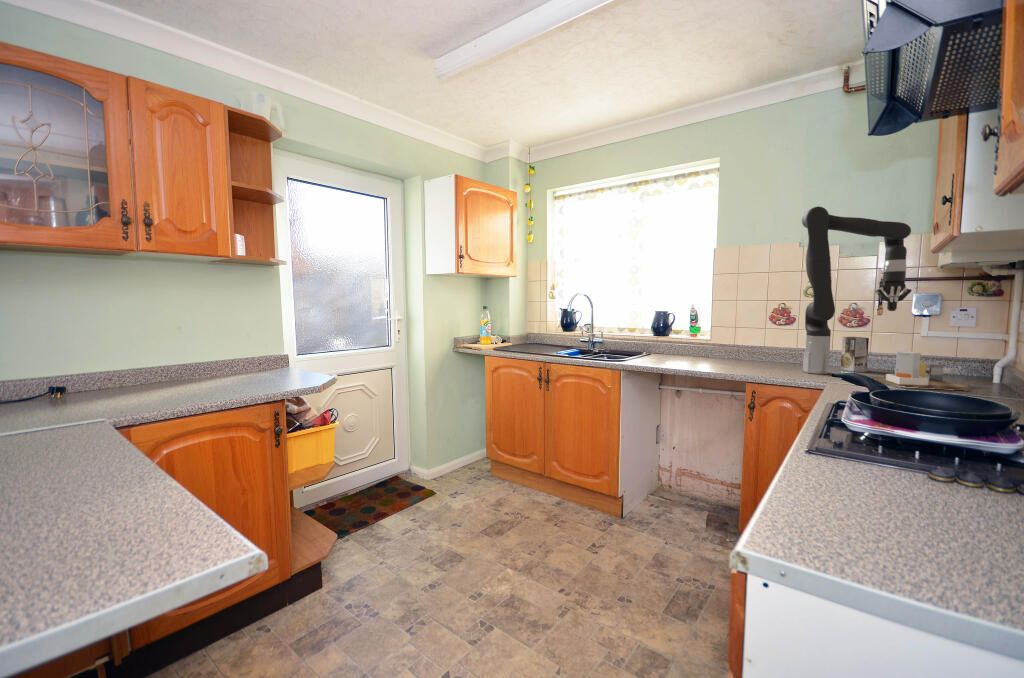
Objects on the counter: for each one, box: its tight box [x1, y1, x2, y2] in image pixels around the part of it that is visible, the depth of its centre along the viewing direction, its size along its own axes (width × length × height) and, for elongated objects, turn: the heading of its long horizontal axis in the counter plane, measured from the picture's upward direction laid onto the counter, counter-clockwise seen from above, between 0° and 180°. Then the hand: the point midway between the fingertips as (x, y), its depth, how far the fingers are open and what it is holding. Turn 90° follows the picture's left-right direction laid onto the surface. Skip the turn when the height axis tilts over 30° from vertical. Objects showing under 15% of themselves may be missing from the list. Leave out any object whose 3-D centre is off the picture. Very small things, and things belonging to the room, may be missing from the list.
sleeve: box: [885, 373, 929, 385], centre depth 174 cm, size 9×9×2 cm
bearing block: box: [925, 362, 945, 381], centre depth 180 cm, size 4×5×6 cm
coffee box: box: [840, 336, 870, 373], centre depth 214 cm, size 9×6×16 cm
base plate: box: [873, 376, 970, 392], centre depth 177 cm, size 22×18×2 cm
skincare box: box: [894, 350, 922, 378], centre depth 173 cm, size 6×4×12 cm
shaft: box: [919, 361, 960, 378], centre depth 180 cm, size 14×5×6 cm, turn 76°
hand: (891, 310), depth 195 cm, fingers closed
